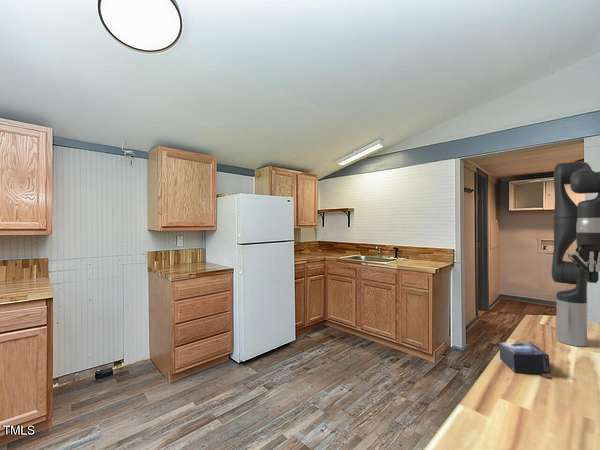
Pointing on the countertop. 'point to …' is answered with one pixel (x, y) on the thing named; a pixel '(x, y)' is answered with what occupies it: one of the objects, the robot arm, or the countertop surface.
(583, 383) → the countertop surface
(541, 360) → the small box
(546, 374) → the stop strip
